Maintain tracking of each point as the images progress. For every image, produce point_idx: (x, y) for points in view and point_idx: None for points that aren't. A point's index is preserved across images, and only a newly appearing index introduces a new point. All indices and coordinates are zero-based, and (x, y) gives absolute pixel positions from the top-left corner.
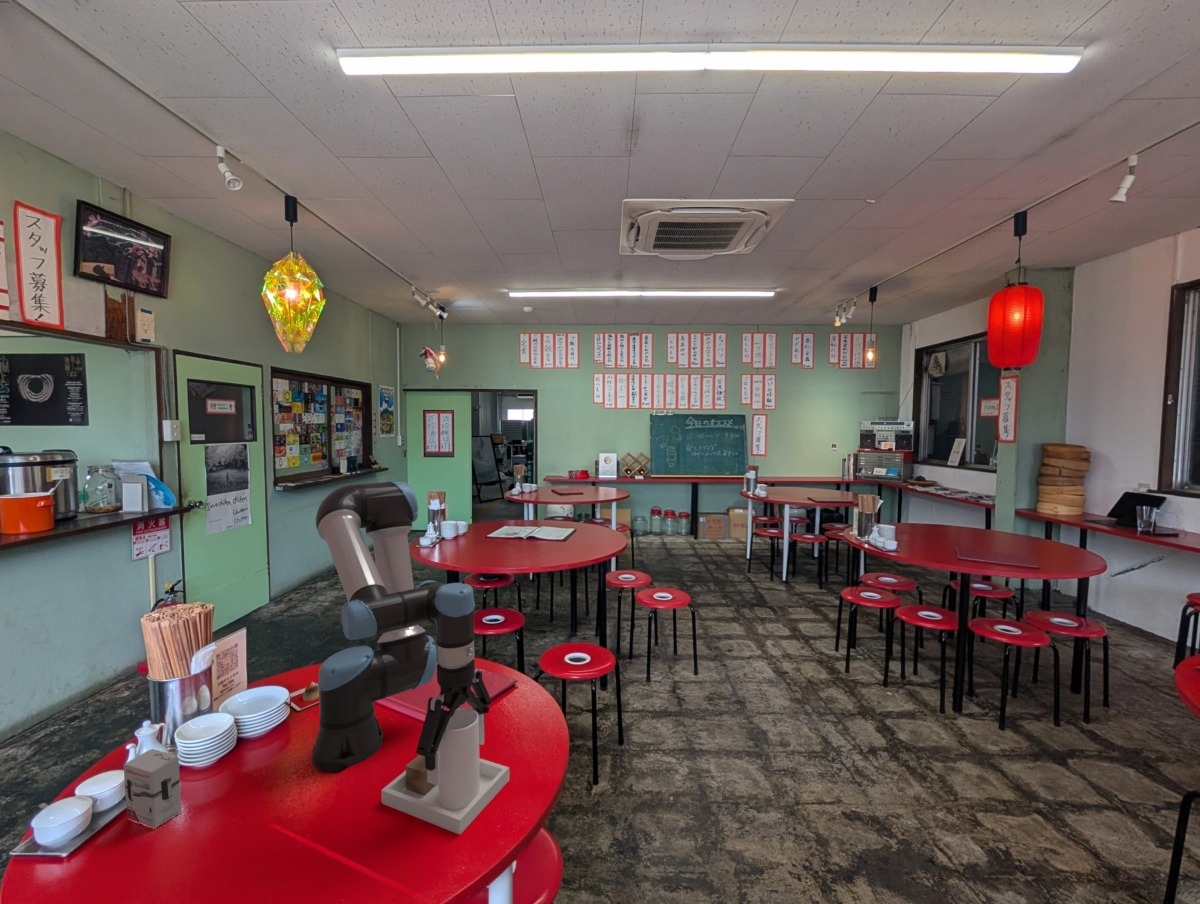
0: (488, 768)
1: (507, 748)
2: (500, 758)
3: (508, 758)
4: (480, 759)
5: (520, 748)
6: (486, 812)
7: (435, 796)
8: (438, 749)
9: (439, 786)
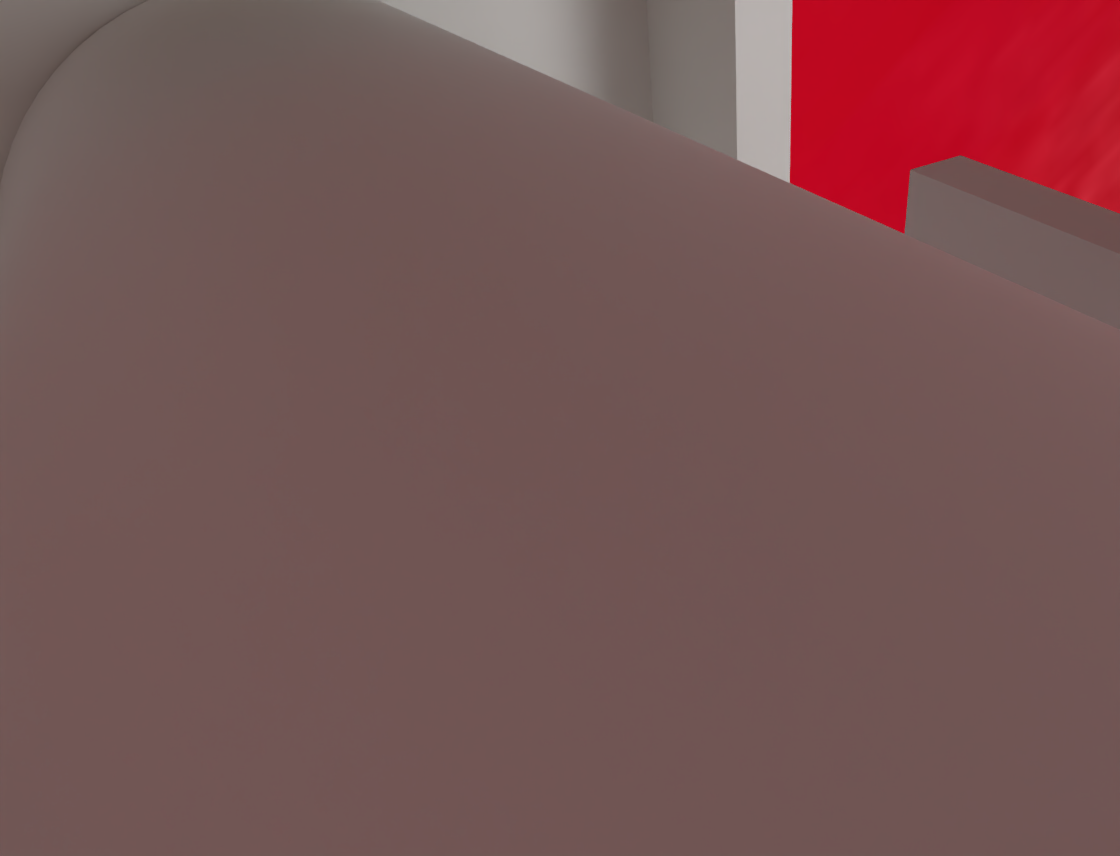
0: None
1: (1075, 12)
2: (935, 78)
3: (955, 150)
4: (776, 157)
5: (1095, 132)
6: None
7: (26, 1)
8: (11, 665)
9: (1, 259)
